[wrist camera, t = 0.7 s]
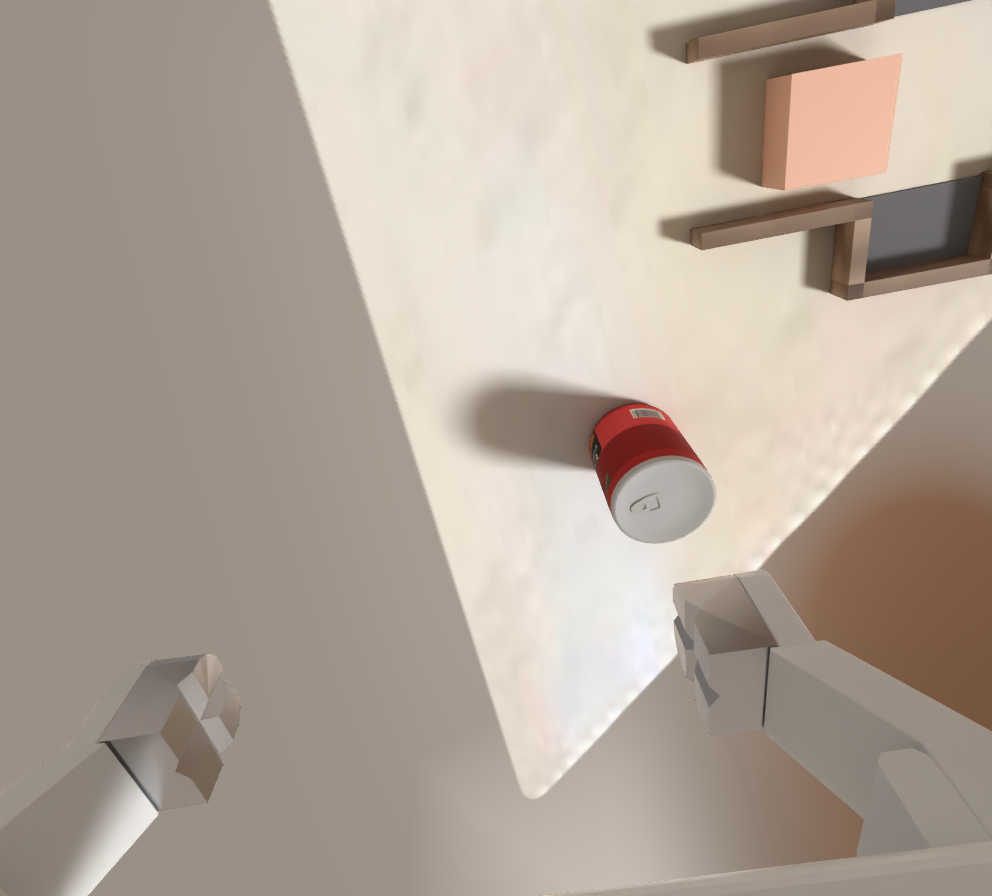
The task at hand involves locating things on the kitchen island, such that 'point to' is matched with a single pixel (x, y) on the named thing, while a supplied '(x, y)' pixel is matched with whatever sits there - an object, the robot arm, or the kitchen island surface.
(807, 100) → the block
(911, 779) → the robot arm
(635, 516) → the canned food
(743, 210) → the kitchen island surface
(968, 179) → the box
